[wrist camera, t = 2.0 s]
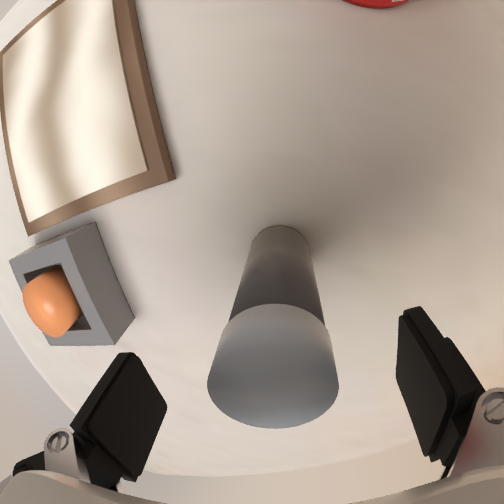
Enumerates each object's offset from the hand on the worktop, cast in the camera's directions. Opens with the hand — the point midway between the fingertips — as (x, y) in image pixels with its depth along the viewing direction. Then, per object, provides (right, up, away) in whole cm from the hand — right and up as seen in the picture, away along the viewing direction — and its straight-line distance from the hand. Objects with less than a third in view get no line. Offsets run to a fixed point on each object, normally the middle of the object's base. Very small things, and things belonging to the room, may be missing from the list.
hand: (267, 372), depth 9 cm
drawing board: (-14, +15, +6) cm, 22 cm away
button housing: (-15, +2, +11) cm, 18 cm away
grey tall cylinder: (+1, +4, +9) cm, 10 cm away
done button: (-15, +1, +9) cm, 17 cm away
